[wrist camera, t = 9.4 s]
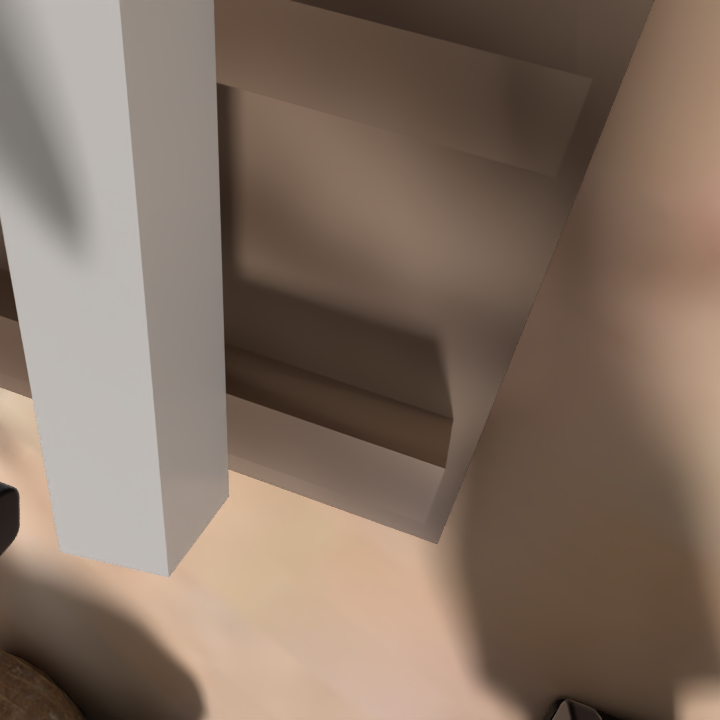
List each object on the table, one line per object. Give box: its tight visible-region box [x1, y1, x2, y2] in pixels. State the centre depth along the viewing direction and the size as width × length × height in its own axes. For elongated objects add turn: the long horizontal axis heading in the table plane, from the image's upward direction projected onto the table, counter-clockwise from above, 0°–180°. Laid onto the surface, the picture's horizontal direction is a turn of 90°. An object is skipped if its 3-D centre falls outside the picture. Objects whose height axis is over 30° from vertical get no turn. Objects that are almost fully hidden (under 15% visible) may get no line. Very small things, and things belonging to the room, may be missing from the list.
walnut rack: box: [0, 0, 654, 544], centre depth 17 cm, size 18×20×4 cm
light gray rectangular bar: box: [0, 0, 229, 577], centre depth 13 cm, size 16×3×4 cm, turn 176°
